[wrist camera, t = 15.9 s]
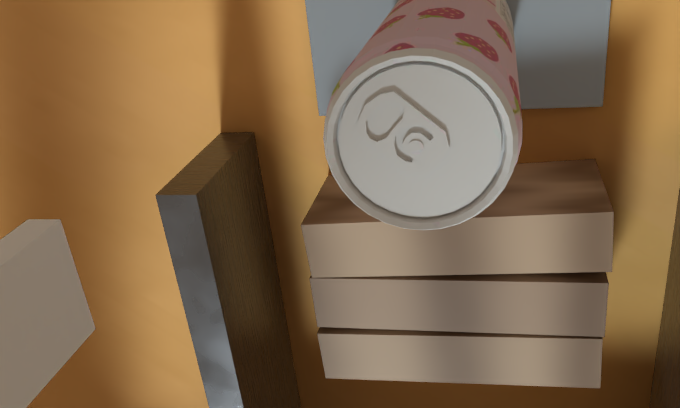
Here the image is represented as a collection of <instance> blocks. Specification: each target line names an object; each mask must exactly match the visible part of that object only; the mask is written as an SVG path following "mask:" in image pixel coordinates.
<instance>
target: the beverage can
mask: <svg viewBox="0 0 680 408" xmlns="http://www.w3.org/2000/svg"><path fill="white" fill-rule="evenodd" d="M323 139H324V146H325V154H326V159H327V161H328V164H329V167H330V170H331V173H332V175H333V177H334V178H335V180H336V182H337V183H338V185H339V187H340V188H341V190H342V191H343V192H344V193H345V194H346V195H347V197H348V198H349V199H350V200H351V201H352V202H353V203H354V204H355V205H356V206H358V207H359V208H360V209H362V210H363V211H364V212H366V213H367V214H368V215H370V216H372V217H374V218H376V219H378V220H380V221H382V222H384V223H386V224H390V225H393V226H397V227H400V228H404V229H414V230H433V229H443V228H447V227H450V226H454V225H457V224H461V223H463V222H465V221H467V220H469V219H471V218H473V217H475V216H476V215H478V214H479V213H481V212H482V211H483V210H484V209H486V208H487V207H488V206H489V205H491V204H492V203H493V202H494V201H495V200H496V198H497V197H498V196H499V195H500V193H501V192H502V191H503V190H504V189H505V187H506V185H507V183H508V181H509V179H510V177H511V175H512V173H513V171H514V167H515V165H516V163H517V161H518V157H519V153H520V149H521V145H522V113H521V102H520V92H519V82H518V71H517V61H516V50H515V40H514V30H513V21H512V17H511V12H510V9H509V6H508V4H507V2H506V0H399V1H398V2H397V3H396V5H395V6H394V7H393V9H392V10H391V11H390V13H389V14H388V15H387V17H386V18H385V19H384V21H383V22H382V23H381V25H380V26H379V27H378V29H377V30H376V31H375V33H374V34H373V35H372V36H371V38H370V39H369V40H368V42H367V43H366V44H365V46H364V47H363V48H362V50H361V51H360V52H359V54H358V55H357V56H356V58H355V59H354V60H353V62H352V63H351V64H350V66H349V67H348V68H347V70H346V71H345V72H344V73H343V75H342V77H341V78H340V80H339V82H338V83H337V85H336V87H335V88H334V90H333V92H332V95H331V98H330V101H329V105H328V108H327V113H326V119H325V127H324V138H323Z"/></svg>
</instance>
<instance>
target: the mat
mask: <svg viewBox="0 0 680 408" xmlns="http://www.w3.org/2000/svg"><path fill="white" fill-rule="evenodd" d="M398 1H399V0H305V4H306V12H307V20H308V28H309V36H310V44H311V53H312V61H313V69H314V77H315V85H316V93H317V101H318V110H319V116H326V113H327V108H328V105H329V101H330V98H331V95H332V92H333V90H334V88H335V87H336V85H337V83H338V82H339V80H340V78H341V77H342V75H343V73H344V72H345V71H346V70H347V68H348V67H349V66H350V64H351V63H352V62H353V60H354V59H355V58H356V56H357V55H358V54H359V52H360V51H361V50H362V48H363V47H364V46H365V44H366V43H367V42H368V40H369V39H370V38H371V36H372V35H373V34H374V33H375V31H376V30H377V29H378V27H379V26H380V25H381V23H382V22H383V21H384V19H385V18H386V17H387V15H388V14H389V13H390V11H391V10H392V9H393V7H394V6H395V5H396V3H397V2H398ZM506 2H507V4H508V6H509V9H510V12H511V17H512V21H513V30H514V40H515V50H516V61H517V71H518V82H519V92H520V102H521V109H540V108H570V107H601V106H603V96H604V83H605V70H606V57H607V44H608V31H609V18H610V6H611V0H506Z"/></svg>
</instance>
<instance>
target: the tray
mask: <svg viewBox="0 0 680 408" xmlns="http://www.w3.org/2000/svg"><path fill="white" fill-rule="evenodd" d="M156 199H157V203H158V207H159V211H160V215H161V219H162V223H163V227H164V231H165V235H166V239H167V243H168V247H169V250H170V254H171V258H172V262H173V266H174V270H175V274H176V278H177V282H178V286H179V290H180V294H181V298H182V302H183V306H184V310H185V314H186V318H187V321H188V325H189V329H190V333H191V337H192V341H193V345H194V349H195V353H196V357H197V361H198V365H199V369H200V373H201V377H202V381H203V385H204V389H205V393H206V396H207V400H208V404H209V408H301V404H300V398H299V392H298V387H297V381H296V375H295V369H294V363H293V357H292V352H291V346H290V340H289V334H288V328H287V322H286V316H285V311H284V305H283V299H282V293H281V287H280V281H279V276H278V270H277V264H276V258H275V252H274V246H273V241H272V235H271V229H270V223H269V217H268V211H267V206H266V200H265V194H264V188H263V182H262V176H261V170H260V165H259V159H258V153H257V147H256V141H255V135H254V132H245V133H220V134H219V135H218V136H217V137H216V138H215V139H214V140H213V141H212V142H211V143H210V144H209V145H208V146H206V147H205V148H204V149H203V150H202V151H201V152H200V153H199V154H198V155H197V156H196V157H195V158H194V159H193V160H192V161H191V162H190V163H189V164H188V165H186V166H185V167H184V168H183V169H182V170H181V171H180V172H179V173H178V174H177V175H176V176H175V177H174V178H173V179H172V180H171V181H170V182H169V183H168V184H166V185H165V186H164V187H163V188H162V189H161V190H160V191H159V192H158V193H157V194H156ZM649 408H680V190H679V197H678V204H677V211H676V219H675V226H674V233H673V240H672V247H671V254H670V261H669V269H668V276H667V283H666V290H665V297H664V304H663V311H662V318H661V326H660V333H659V340H658V347H657V354H656V361H655V368H654V376H653V383H652V390H651V397H650V404H649Z"/></svg>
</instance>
